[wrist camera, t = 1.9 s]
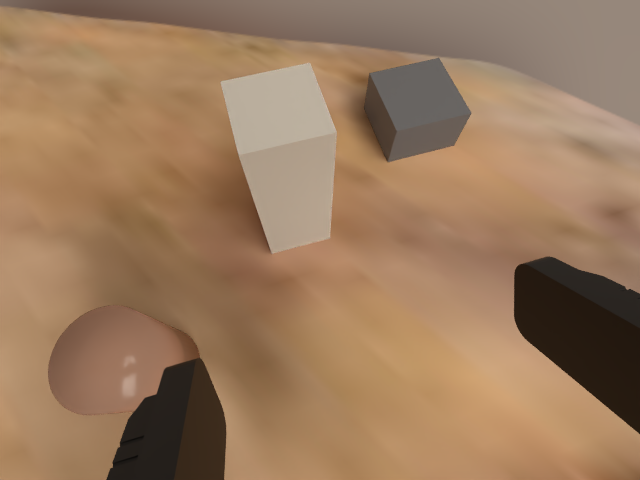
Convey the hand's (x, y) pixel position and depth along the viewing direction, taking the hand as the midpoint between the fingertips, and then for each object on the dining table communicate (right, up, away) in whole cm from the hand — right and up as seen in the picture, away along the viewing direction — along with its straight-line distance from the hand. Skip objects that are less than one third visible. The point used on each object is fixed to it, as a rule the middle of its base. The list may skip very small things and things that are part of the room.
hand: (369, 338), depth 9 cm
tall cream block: (-3, +4, +19) cm, 20 cm away
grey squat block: (+6, +12, +23) cm, 27 cm away
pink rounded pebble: (-12, -6, +15) cm, 20 cm away
